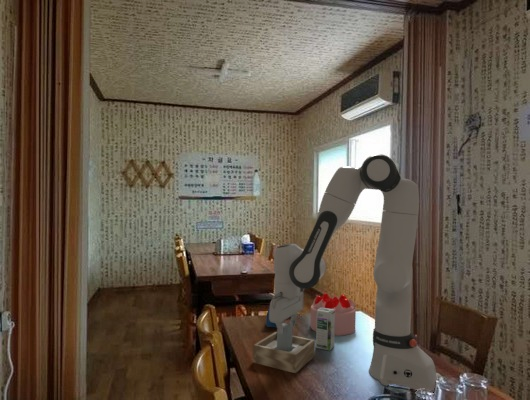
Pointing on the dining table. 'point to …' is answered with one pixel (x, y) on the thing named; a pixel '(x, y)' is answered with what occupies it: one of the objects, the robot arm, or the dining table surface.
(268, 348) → the crate
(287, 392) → the dining table surface
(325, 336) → the syrup box
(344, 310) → the cake
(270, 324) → the perfume bottle
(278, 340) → the peg
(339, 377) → the dining table surface
